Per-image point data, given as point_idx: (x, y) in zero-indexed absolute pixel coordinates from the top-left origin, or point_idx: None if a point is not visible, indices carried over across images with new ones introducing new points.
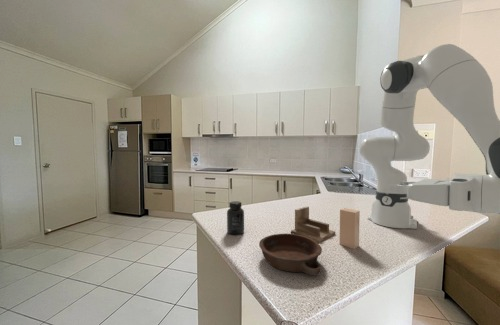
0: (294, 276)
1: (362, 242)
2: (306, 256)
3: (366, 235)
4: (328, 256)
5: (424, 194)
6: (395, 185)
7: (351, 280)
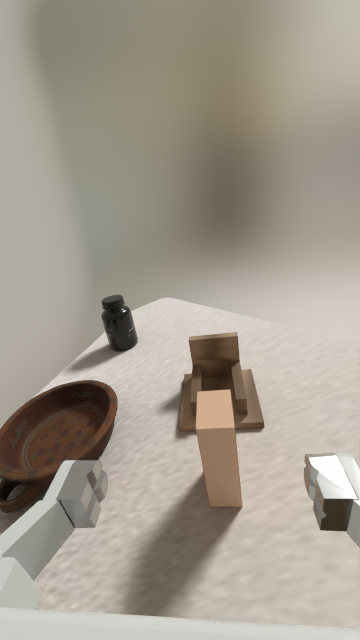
0: None
1: (280, 502)
2: (9, 467)
3: None
4: (122, 481)
5: None
6: (52, 487)
7: None
